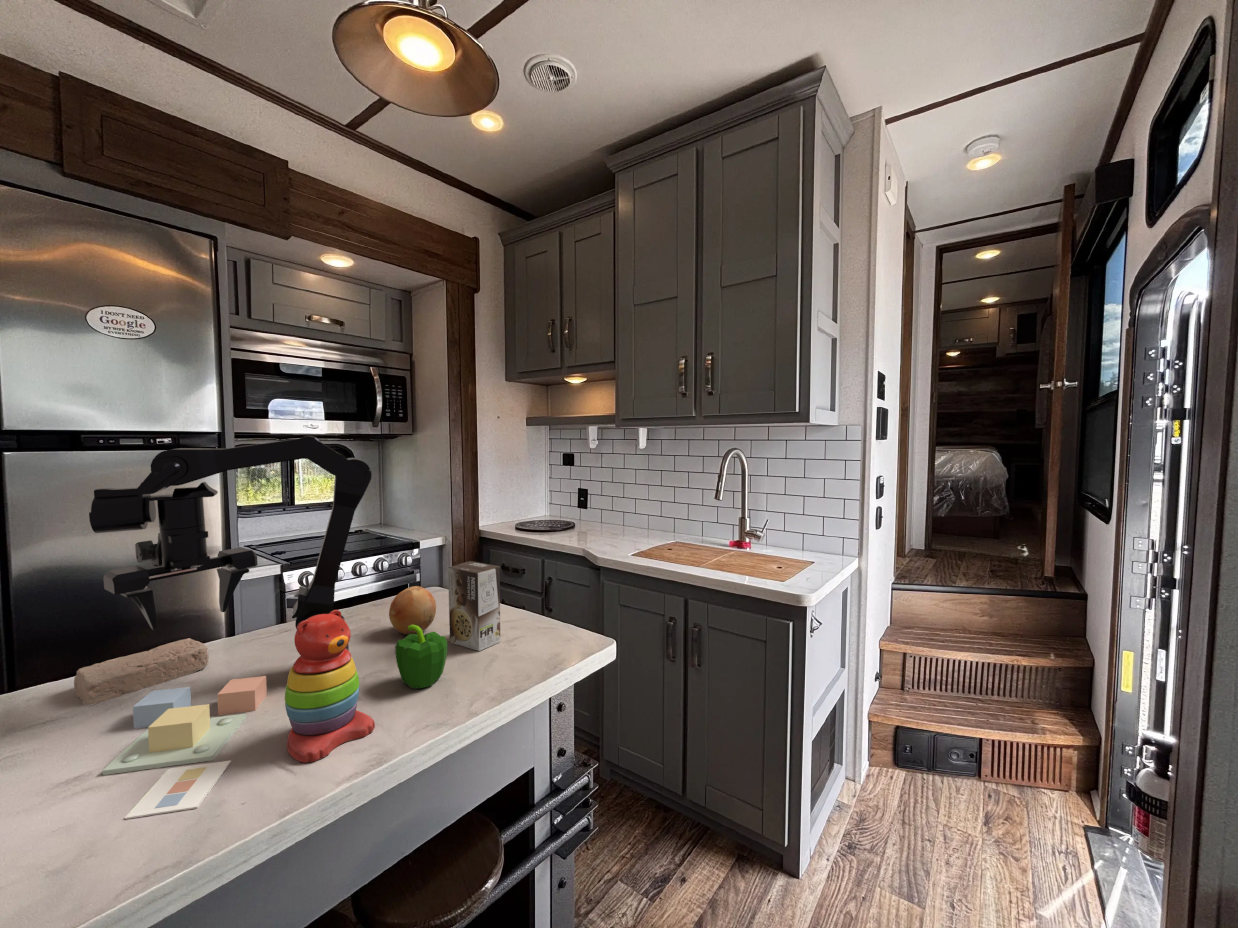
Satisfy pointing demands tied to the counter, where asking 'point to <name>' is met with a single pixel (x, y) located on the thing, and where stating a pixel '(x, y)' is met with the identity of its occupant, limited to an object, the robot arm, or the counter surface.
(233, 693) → the brick terracotta
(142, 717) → the brick slate
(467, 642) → the coffee box
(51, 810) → the counter surface
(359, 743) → the counter surface
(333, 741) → the stacking bear
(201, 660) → the brick
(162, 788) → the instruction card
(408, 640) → the bell pepper
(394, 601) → the onion
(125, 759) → the plate
